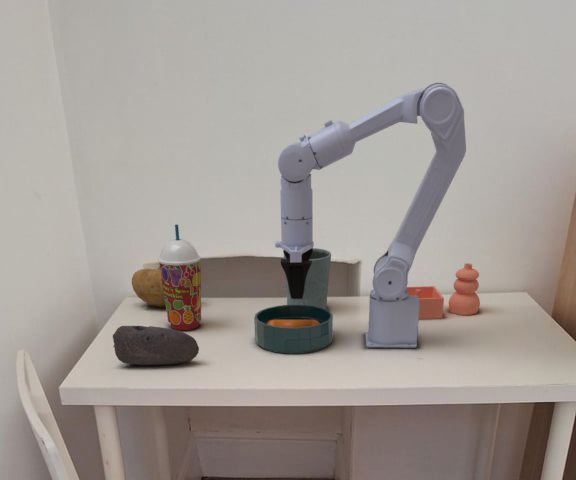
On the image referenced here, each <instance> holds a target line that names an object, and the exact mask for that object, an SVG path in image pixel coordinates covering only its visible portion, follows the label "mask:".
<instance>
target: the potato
mask: <svg viewBox="0 0 576 480" xmlns="http://www.w3.org/2000/svg"><path fill="white" fill-rule="evenodd" d="M131 286H132V289H133V292H134V293H135V294H136V296H137V298H139V299H140V300H142V301H143V302H144V303H146V304H148V305H151V306H154V307H158V308H166V305H165V299H164V292H163V286H162V280H161V273H160V268H143V269H139V270H137V271H135V272H134V273H133V275H132V277H131Z"/></svg>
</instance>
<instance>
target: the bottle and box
mask: <svg viewBox="0 0 576 480" xmlns="http://www.w3.org/2000/svg"><path fill="white" fill-rule="evenodd" d="M454 276H455V277H456V279H455V280H454V282H453V289H454V292H453V293H452V295H450V297H449V299H448V309H449V312H450V313H452V314H454V315H459V316H460V315H461V316H471V315H475V314H477V313H478V311H479V308H480V306H481V299H480V297H479V295H478V294H477V293H476V292H477V291H478V289H479V286H480V285H479V281H478V278H479V277H480V272H479V271H478V270H477V269H475V268H473V263H470V262H469V263H464V265H463V268H460V269H458V270H457V271H456V272H455V275H454ZM406 290H407V291H408V293H409V295H413V296H418V297H419V320H429V319H430V320H432V319H435V320H437V319H443V311H444V301H445V298H444V296H443V295H442V294H441V293H440V291H439V290H438V289H437V288H436V286H434V285H431V286H407V288H406Z"/></svg>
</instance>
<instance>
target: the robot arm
mask: <svg viewBox="0 0 576 480" xmlns="http://www.w3.org/2000/svg"><path fill="white" fill-rule="evenodd" d="M418 117H420V118H421V120H422V122H423V123H424V126H426V128H427V129H428V130H429V132H430V136H431V138H432V139H431V140H432V142H433V145H434V147H435V153H434V155H433V157H432V159H431V161H430V163H429V166H428V167H427V169H426V171H425V174H424V176H423V178H422V180H421V183H419V186H418V188H417V190H416V192H415V194H414V196H413V198H412V201H411V203H410V205H409V207H408V209H407V211H406V213H405V215H404V217H403V220H402V221H401V223H400V226H399V228H398V230H397V232H396V234H395V236H394V238H393V239H392V241H391V242H390V244H389V246H388V247H387V250H386V251H385V253H384V254H382V255H381V256H380V257H379V258H377V260H376V261H375V264H374V266H373V277H372V288H373V289H372V290H370V292H369V307H368V308H369V309H368V328H367V331H366V332H365V333H364V336H365V344H366V347H367V348H405V349H406V348H407V349H408V348H409V349H410V348H411V349H412V348H414V349H415V348H417V347H418V344H417V343H418V335H419V320H420V319H419V297H418V296H413V295H409V293H408V291H407V290H406V288H407V287H408V285H409V284H408V281H409V279H408V278H409V277H408V276H409V273H410V270H411V268H412V266H413V263H414V260H415V258H416V257H415V256H416V254H417V252H418V250H419V248H420V246H421V244H422V242H423V240H424V238H425V236H426V234H427V232H428V230H429V229H430V226H431V224H432V221H433V220H434V218H435V216H436V214H437V212H438V210H439V208H440V206H441V204H442V202H443V200H444V198H445V196H446V194H447V192H448V190H449V188H450V186H451V184H452V182H453V180H454V178H455V176H456V174H457V172H458V170H459V168H460V166H461V163H462V162H463V160H464V158H465V157H466V156H465V155H466V152H467V140H466V125H465V109H464V107H463V105H462V102H461V99H460V97H459V95H458V93H457V92H456V90H455V89H454V88H453V87H451V86H450V85H448V84H446V83H444V82H434V83H431V84H429V85H428V86H426V87H425V88H424V89H423V88H422V87H421V88H418V89H415V90H412V91H410V92H406V93H404V94H401V95H399V96H397V97H395V98H394V99H392V100H390V101H388V102H386V103H385V104H383V105H381V106H379V107H377V108H375V109H373V110H372V111H370V112H368V113H366V114H365V115H363V116H361V117H359V118H357V119H355V120H353V121H352V122H350V123H347V122H345V121H343V120H340V119H337V120H336V121H334V122H333V120H332V119H329V120H328V121H325V122H324V127H322V128H319V129H318V130H316V131H314V132H312V133H310V134H309V135H305V134H303V135H301V136H299V138H298V140H299V142H293V143H290V144H288V145H287V146H286V147H285V148H284V149H283V150H282V151H281V152H280V154H279V157H278V161H277V166H278V171H279V173H280V175H281V176H280V192H279V194H280V230H281V231H280V233H281V234H280V235H281V241H275V243H274V246H275V248H277V249H279V248H280V249H282V250H283V251H282V252H283V255H284V254H285V257H286V259H284V258H281V259H280V265H281V267H282V270H283V271H284V274H285V278H286V277H287V281H288V286H289V291H290V296H291V299H302V298H303V294H304V288H305V281H306V276H307V273H308V270H309V268H310V266H311V264H312V260H310V261H309V259H310V256H311V254H312V252H313V248H315V243H314V241H313V239H314V238H313V236H314V235H313V234H314V233H313V232H314V231H313V224H314V223H313V222H314V221H313V219H314V218H313V215H314V214H313V188H312V173H311V172H312V171H313V170H315V171H316V170H317V171H320V170H322V169H324V168H326V167H328V166H330V165H332V164H335V163H336V162H338V161H341V160H342V159H344V158H346V157H348V156H351V155H352V154H353V152H354V149H355V146H356V143H357V142H359V141H362V140H364V139H367V138H368V137H370V136H373V135H374V134H377V133H379V132H381V131H383V130H385V129H387V128H390V127H392V126H394V125H397V124H399V123H404V124H405V123H406V124H407V123H408V124H415V125H417V124H418Z"/></svg>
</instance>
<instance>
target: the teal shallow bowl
mask: <svg viewBox="0 0 576 480" xmlns="http://www.w3.org/2000/svg"><path fill="white" fill-rule="evenodd" d="M271 320H316V321H318V322H319V323H320V324H318V325H313V326H307V327H278V326H272V325H268V324H267V323H268V322H269V321H271ZM253 323H254V341H255V342H256V344H257V345H258V346H259V347H260V348H262V349H264V350H266V351H268V352H273V353H277V354H288V355H289V354H293V355H295V354H296V355H297V354H307V353H312V352H317V351H321V350H323V349H325V348H326V347H328V346H330V344H331V343H332V342H333V333H334V331H333V330H334V329H333V327H334V326H333V325H334V314H333V313H332V311H330V310H328V309H327V308H326V309H323V308H320V307H315V306H309V305H287V304H284V305H283V304H282V305H276V306H271V307H266V308H264V309H261V310H259V311H258V312H256V313H255V314H254V316H253Z"/></svg>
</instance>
